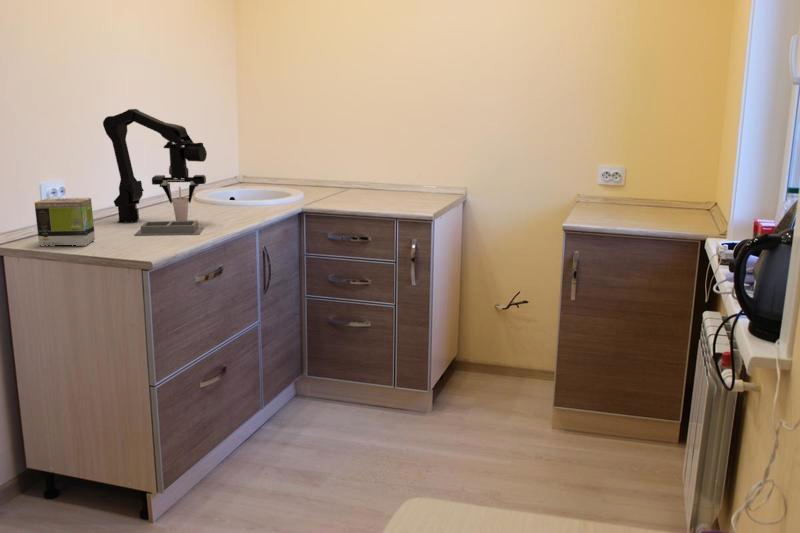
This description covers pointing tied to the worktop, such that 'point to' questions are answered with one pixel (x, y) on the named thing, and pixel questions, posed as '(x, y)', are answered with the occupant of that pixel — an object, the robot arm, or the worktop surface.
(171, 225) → the bottle carrier
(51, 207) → the tea box
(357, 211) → the worktop surface
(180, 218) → the smoothie
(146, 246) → the worktop surface
